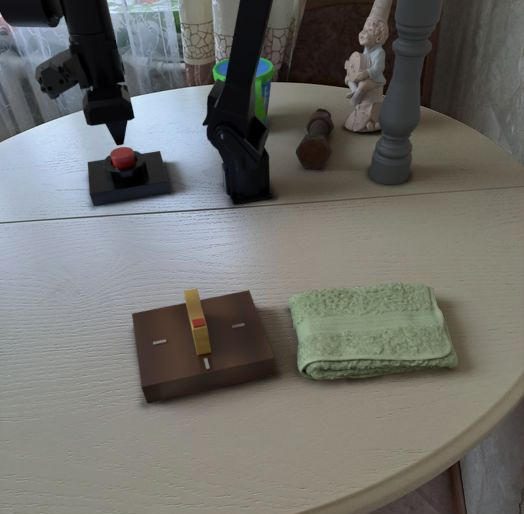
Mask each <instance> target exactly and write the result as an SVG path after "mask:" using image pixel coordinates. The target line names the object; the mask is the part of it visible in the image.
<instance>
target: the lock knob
mask: <svg viewBox="0 0 524 514" xmlns="http://www.w3.org/2000/svg"><path fill="white" fill-rule="evenodd" d="M183 295H184V302H185V303H186V306H187V311H188V316H189V321H190V325H191V330H192V334H193V338H194V343H195V347H196V351H197V355H201V354H206V353H211V348H210V342H209V336H208V329H207V325H206V321H205V317H204V313H203V309H202V305H201V302H200V300H201V297H200V294H199V291H198V288H192V289H187V290H184V291H183Z"/></svg>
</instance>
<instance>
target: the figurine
mask: <svg viewBox="0 0 524 514" xmlns="http://www.w3.org/2000/svg"><path fill="white" fill-rule="evenodd" d="M393 1H394V0H374V2H373V5H372V8H371V11H370V13H369V15H368V17H367V18H366V20H365V23H364V26H363V30H361V32H359V34H358V41H359V45H361V46H363V47H364V49H363V52H362V53H361V52H358V51H354V52H353V53H352V54H351V55H350V57H349V59H348V60H345V63H344V69H345V70H346V75H345V78H344V83H345V85H346V86H348V88H349V89H350V90H351V91H350V92H348V93H346V94H345V98H346V99H349V101H350V102H349V104H350V106H351V107H354V108H355V109H354V110H353V111H352V112H351V113H350V114H349V116H348V117H347V119H346V120H345V123H344V127H345V129H347V130H349V131H352V132H358V133H365V132H375V131H381V130H382V129H381V128H380V125H379V121H378V116H379V110H380V108H381V105H382V103H383V100H384V98H385V95H384V86H385V85H386V84H387V79H386V78H385V76H384V74H383V72H384V71H385V69H386V68H385V67H386V63H385V60H386V51H385V50H384V49H383V47H382V46H383V45H384V44H385V43H386V41H387V40H388V38H389V26H388V20H389V16H390V11H391V9H392V4H393Z"/></svg>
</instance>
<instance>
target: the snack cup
mask: <svg viewBox="0 0 524 514" xmlns="http://www.w3.org/2000/svg"><path fill="white" fill-rule="evenodd" d="M228 62H229V58H226V59H222V60H220V61H218V62H217V63H215V65H214V66H213V68H212V74H213V79H214V83H215V82H216V80H217V78H218V79H220V80H222V81H225V78H226V73H227V67H228ZM274 76H275V67H274V63H273V62H272V61H270V60H269V59H267V58H264V57H260V60H259V64H258V69H257V73H256V78H255V90H256V102H255V115H256V116H257V117H258V118H259V119H260V120H261V121H262V122H263V123H264V124H265V125H266V126H267V121H268V115H269V104H270V97H271V87H272V81H273V78H274Z"/></svg>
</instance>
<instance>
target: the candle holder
mask: <svg viewBox="0 0 524 514" xmlns="http://www.w3.org/2000/svg"><path fill="white" fill-rule="evenodd" d="M443 6H444V0H397V1H396V7H395V12H394V21H395V28H396V30H397V36H398V37H397V38H396V39H395V40H394V41H393V42H392V46H391V50H392V52H394V55H395V59H394V63H393V70H392V77H391V78H390V82H389V84H388V87H387V90H386V93H385V95H384V97H385V98H384V100H383V103H382V105H381V108H380V110H379V116H378V121H379V125H380V128H381V129H380V130H381V135H382V136H380V137H379V139H378V140H377V141H376V142H375V147H374V150H373V151H372V154H371V155H372V157H371V162H370V169H369V176H370V178H371V179H372V180H373V181H375V182H377V183H379V184H381V185H382V184H383V185H391V186H394V185H401V184H402V183H404V182H406V181H407V180H408V179H409V175H410V170H411V166H412V161H413V154H412V151H413V144H412V142H411V139H410V137H411V136H412V133H413V132H414V131H415V130H416V129H417V127H418V126H419V124H420V121H421V117H422V115H421V76H422V71H423V66H424V61H425V57H427V55H428V54H429V53H430V52H432V49H433V44H432V42H431V41H430V40H429V38H430V37H431V35H432V33H433V31H435V29H436V27H437V24H438V23H439V22H440V20H441V14H442V10H443Z"/></svg>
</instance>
